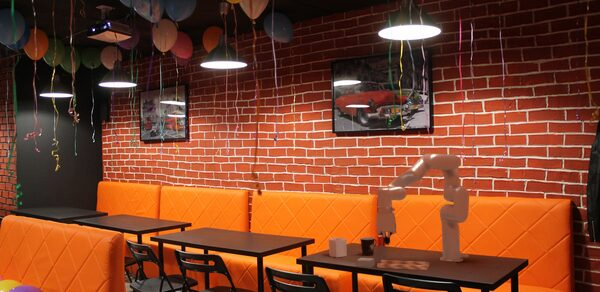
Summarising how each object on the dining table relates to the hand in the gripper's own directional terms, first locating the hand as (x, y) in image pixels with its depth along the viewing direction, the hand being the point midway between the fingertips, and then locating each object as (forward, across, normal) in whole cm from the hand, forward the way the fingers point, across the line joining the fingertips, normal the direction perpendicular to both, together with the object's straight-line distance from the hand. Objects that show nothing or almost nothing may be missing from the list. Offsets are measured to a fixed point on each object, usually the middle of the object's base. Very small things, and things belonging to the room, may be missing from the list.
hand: (387, 244), depth 286 cm
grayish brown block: (+12, +13, 0) cm, 18 cm away
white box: (+12, +35, -24) cm, 44 cm away
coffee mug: (+13, +17, -31) cm, 38 cm away
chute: (+13, -8, +1) cm, 15 cm away
